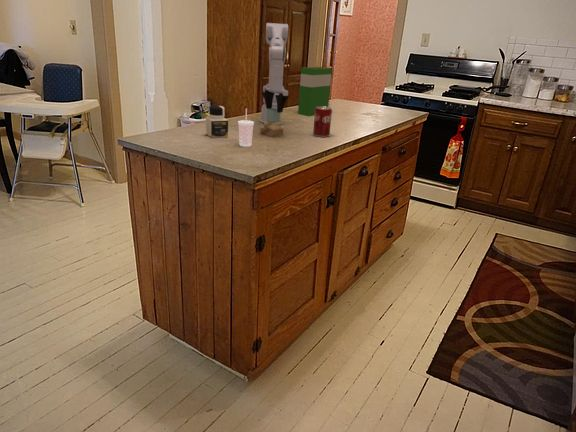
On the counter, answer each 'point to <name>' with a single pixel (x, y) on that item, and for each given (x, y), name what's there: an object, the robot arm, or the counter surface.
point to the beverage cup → (245, 132)
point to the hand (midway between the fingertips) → (274, 110)
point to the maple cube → (272, 125)
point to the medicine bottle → (216, 122)
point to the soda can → (322, 121)
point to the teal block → (273, 115)
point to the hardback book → (314, 89)
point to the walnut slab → (271, 132)
